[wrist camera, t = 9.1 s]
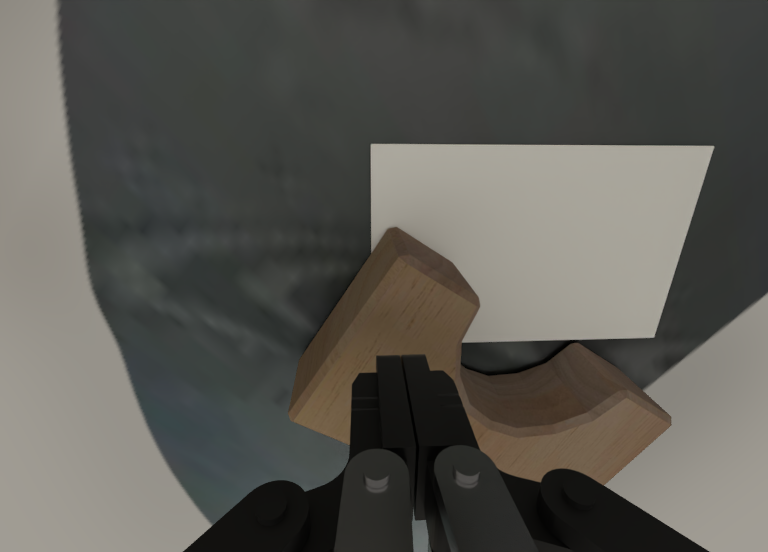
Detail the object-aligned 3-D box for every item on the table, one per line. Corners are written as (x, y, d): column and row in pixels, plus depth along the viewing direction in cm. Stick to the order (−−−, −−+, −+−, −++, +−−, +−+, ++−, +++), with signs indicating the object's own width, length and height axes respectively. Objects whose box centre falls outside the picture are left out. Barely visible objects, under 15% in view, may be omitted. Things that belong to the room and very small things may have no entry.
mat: (708, 145, 21) (714, 145, 21) (649, 334, 26) (654, 337, 25) (370, 143, 20) (370, 144, 20) (371, 341, 25) (371, 345, 24)
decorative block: (405, 250, 16) (681, 422, 22) (390, 221, 21) (615, 365, 27) (282, 426, 19) (554, 537, 24) (296, 361, 24) (517, 465, 30)
